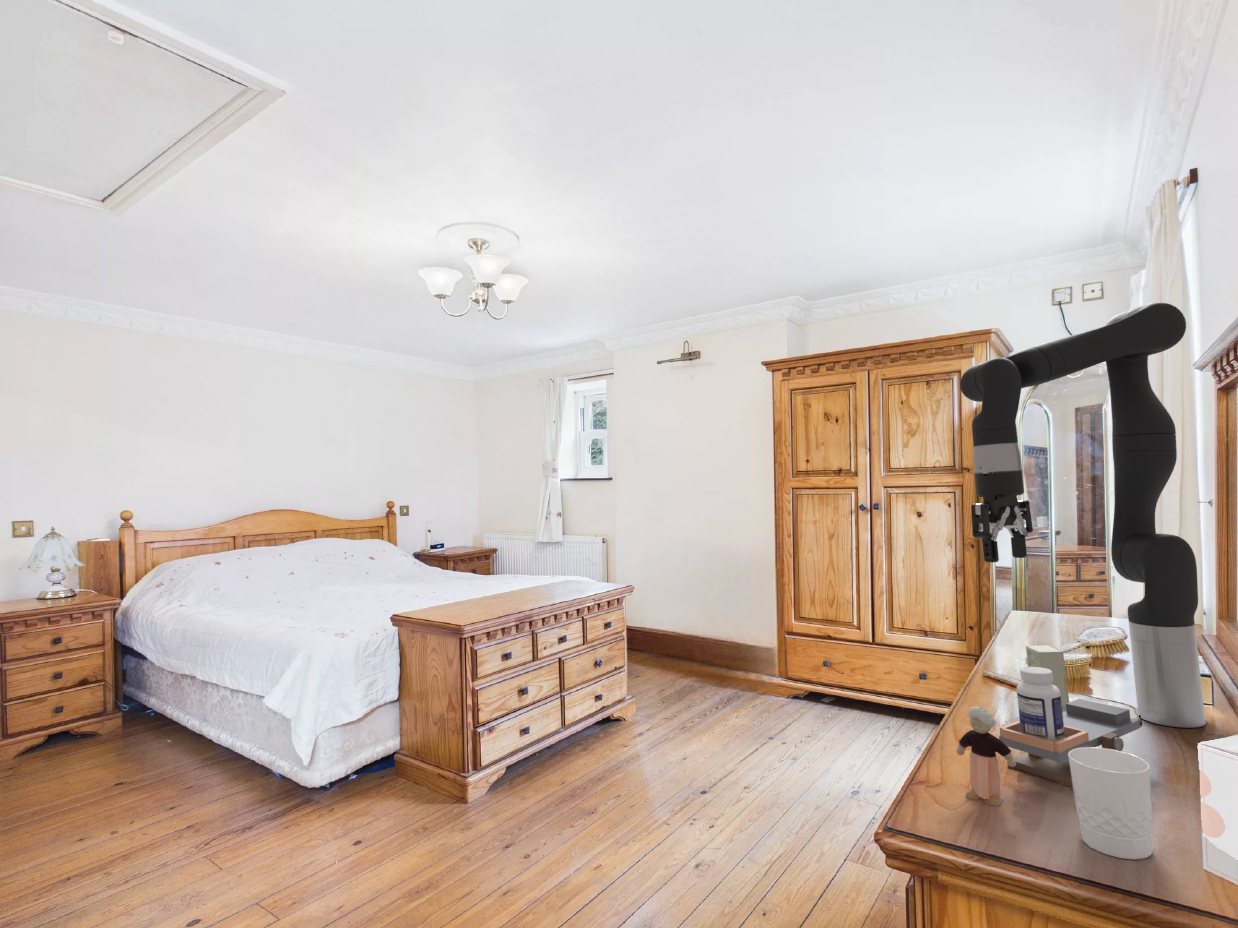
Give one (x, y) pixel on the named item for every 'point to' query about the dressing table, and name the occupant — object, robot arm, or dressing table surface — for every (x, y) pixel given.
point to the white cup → (1113, 801)
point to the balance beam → (1073, 730)
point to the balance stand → (1057, 769)
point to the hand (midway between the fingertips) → (1005, 559)
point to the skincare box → (1050, 667)
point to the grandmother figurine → (984, 757)
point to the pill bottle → (1040, 705)
